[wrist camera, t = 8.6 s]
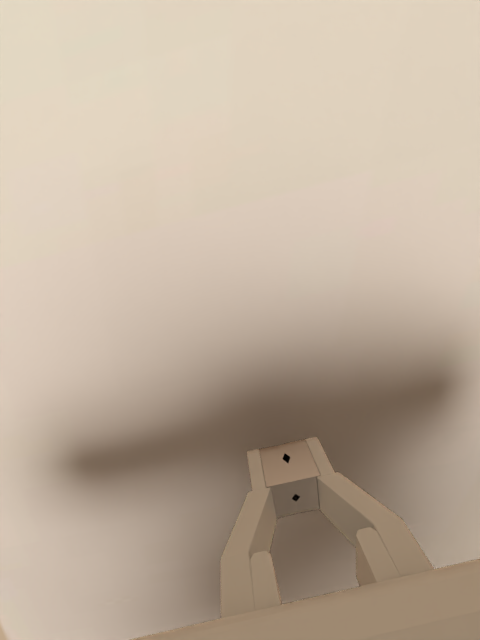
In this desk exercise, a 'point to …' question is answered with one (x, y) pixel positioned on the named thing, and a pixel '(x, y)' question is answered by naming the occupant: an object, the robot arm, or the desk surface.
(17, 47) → the desk surface
